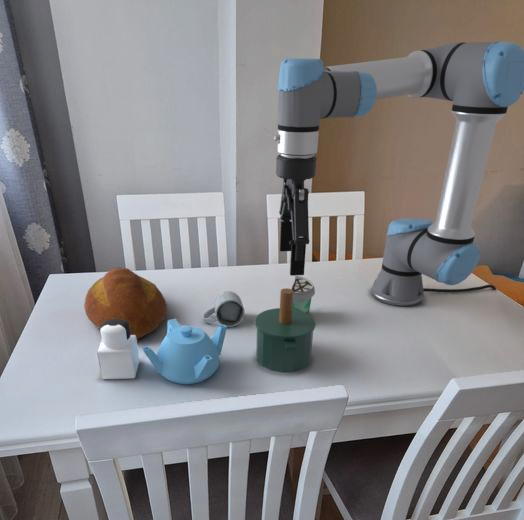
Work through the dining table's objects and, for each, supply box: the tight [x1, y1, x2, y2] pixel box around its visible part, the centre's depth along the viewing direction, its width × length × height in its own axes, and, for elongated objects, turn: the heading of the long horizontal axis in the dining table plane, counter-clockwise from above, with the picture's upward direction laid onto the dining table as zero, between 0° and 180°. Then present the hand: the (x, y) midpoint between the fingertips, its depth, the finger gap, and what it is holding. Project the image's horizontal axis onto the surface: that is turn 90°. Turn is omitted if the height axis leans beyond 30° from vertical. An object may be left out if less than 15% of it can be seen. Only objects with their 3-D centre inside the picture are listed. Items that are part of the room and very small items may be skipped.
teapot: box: [141, 318, 228, 385], centre depth 104 cm, size 15×15×11 cm
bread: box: [83, 266, 168, 340], centre depth 126 cm, size 21×33×12 cm, turn 19°
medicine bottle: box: [97, 319, 140, 380], centre depth 103 cm, size 7×7×12 cm
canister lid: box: [254, 288, 316, 339], centre depth 105 cm, size 14×14×9 cm
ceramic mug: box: [202, 290, 246, 328], centre depth 126 cm, size 11×8×8 cm
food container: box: [291, 275, 316, 315], centre depth 127 cm, size 12×6×10 cm, turn 168°
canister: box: [255, 328, 314, 373], centre depth 110 cm, size 13×18×10 cm
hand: (291, 262), depth 100 cm, fingers open, 13 cm apart
